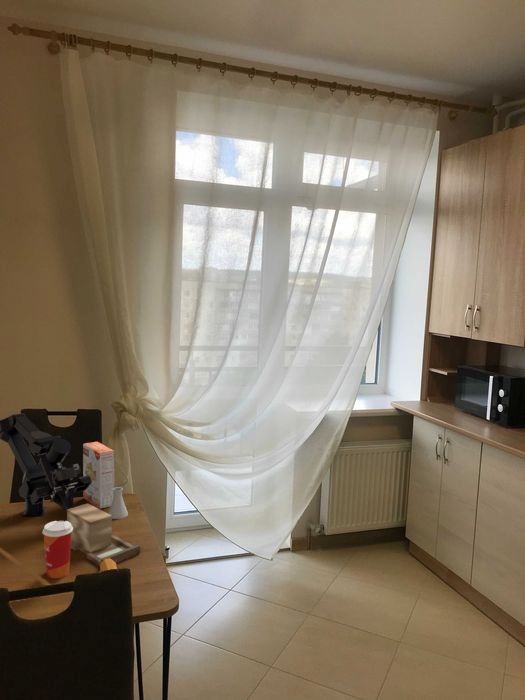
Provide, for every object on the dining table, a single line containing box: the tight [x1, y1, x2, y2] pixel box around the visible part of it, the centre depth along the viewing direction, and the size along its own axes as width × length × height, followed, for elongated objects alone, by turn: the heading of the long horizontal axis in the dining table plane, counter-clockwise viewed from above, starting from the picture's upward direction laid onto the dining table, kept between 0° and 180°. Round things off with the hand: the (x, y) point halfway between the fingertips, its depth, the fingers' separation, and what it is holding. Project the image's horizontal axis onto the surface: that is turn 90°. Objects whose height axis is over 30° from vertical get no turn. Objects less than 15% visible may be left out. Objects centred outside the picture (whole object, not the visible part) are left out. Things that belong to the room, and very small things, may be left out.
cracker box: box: [82, 441, 115, 510], centre depth 199 cm, size 14×6×21 cm, turn 41°
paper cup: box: [41, 520, 73, 579], centre depth 149 cm, size 8×8×14 cm
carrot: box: [99, 559, 118, 572], centre depth 144 cm, size 20×4×4 cm, turn 26°
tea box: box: [66, 503, 113, 552], centre depth 168 cm, size 13×7×9 cm, turn 49°
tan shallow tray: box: [71, 533, 141, 567], centre depth 166 cm, size 26×22×3 cm
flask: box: [108, 486, 129, 520], centre depth 189 cm, size 7×7×10 cm
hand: (72, 512), depth 174 cm, fingers closed
